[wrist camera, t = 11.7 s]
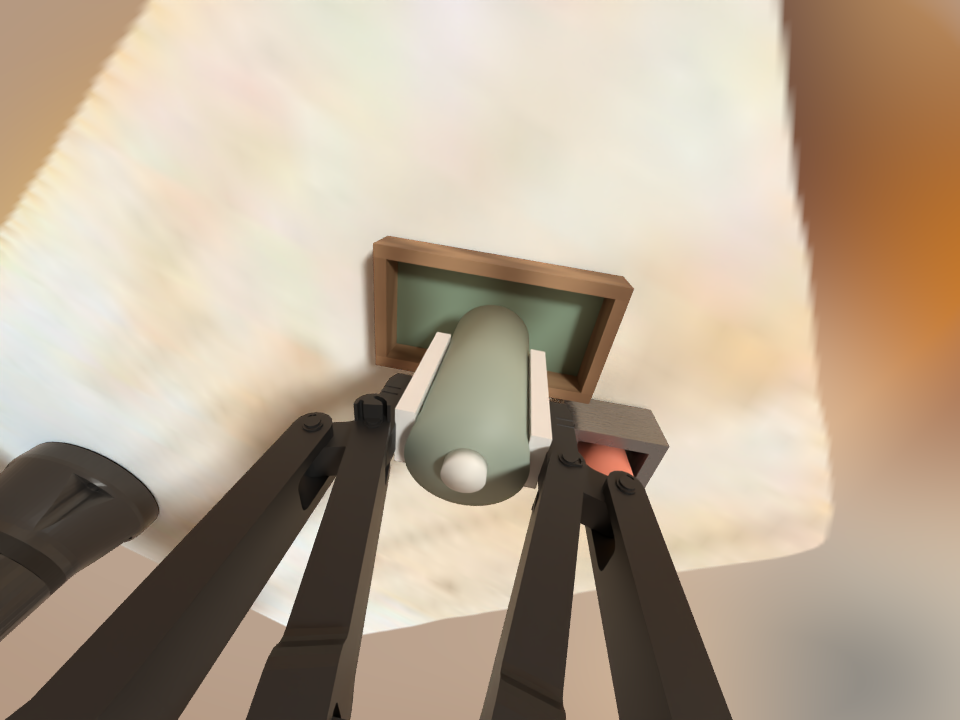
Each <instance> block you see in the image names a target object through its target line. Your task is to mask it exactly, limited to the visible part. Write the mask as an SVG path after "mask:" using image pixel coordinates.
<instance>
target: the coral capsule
mask: <svg viewBox="0 0 960 720" xmlns="http://www.w3.org/2000/svg"><path fill="white" fill-rule="evenodd" d="M577 447H578V452H579V453H580V454H581V455H582V456H583V458H584V459H585V462H586V464H587V465H588V466H589V467H591V468H592V469H594V470H596V471H598V472H600V473H603V474H605V475H607V476H608V475H609V473H610V472H613V471H624V472H627V473H629V474H631V475H633V473H632V470H631V467H630V464H629V461H628V458H627V455H626V452H625V449H620V448H615V447H609V446H604V445H599V444H593V443H588V442H583V441H578V444H577ZM633 476H634V475H633Z"/></svg>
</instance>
